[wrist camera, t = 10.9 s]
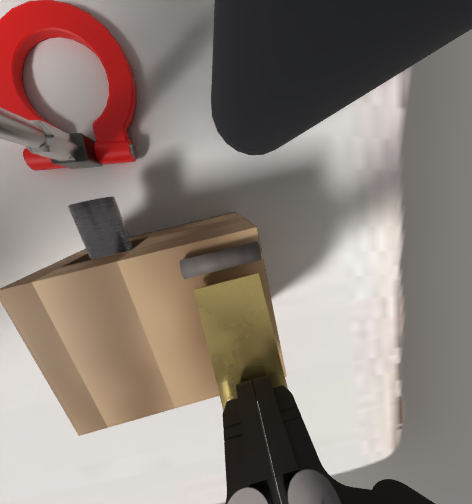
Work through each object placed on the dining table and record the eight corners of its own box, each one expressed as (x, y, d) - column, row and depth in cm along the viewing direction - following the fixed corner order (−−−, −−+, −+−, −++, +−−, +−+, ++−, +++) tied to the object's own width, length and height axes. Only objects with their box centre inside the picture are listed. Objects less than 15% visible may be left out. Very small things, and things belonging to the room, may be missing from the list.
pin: (193, 347, 19) (189, 393, 15) (139, 361, 19) (118, 413, 14) (142, 192, 15) (115, 192, 11) (74, 207, 15) (20, 214, 11)
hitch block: (128, 342, 20) (69, 453, 12) (87, 247, 18) (-26, 300, 9) (257, 308, 21) (292, 389, 12) (236, 212, 18) (261, 230, 10)
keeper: (223, 402, 11) (223, 410, 10) (195, 288, 11) (193, 289, 10) (284, 384, 11) (288, 392, 10) (256, 272, 11) (258, 273, 10)
